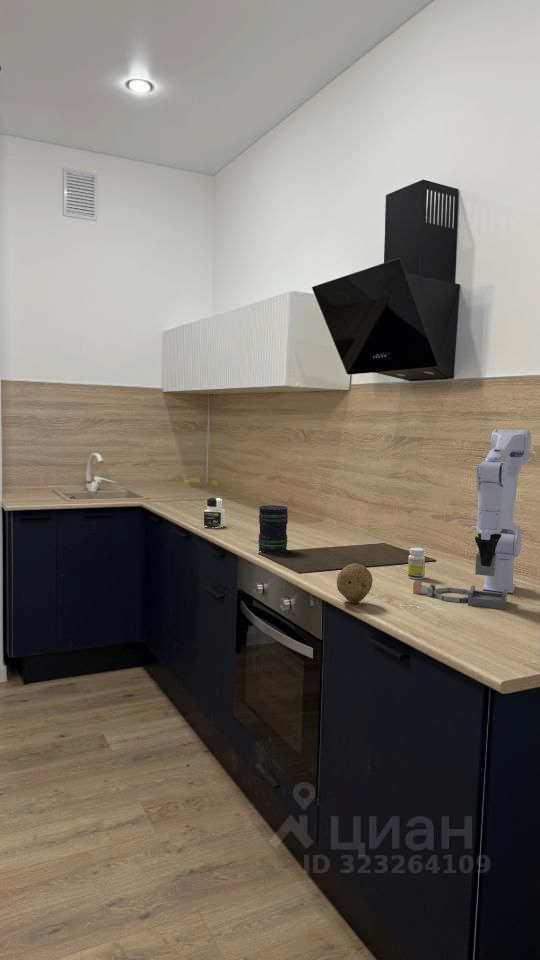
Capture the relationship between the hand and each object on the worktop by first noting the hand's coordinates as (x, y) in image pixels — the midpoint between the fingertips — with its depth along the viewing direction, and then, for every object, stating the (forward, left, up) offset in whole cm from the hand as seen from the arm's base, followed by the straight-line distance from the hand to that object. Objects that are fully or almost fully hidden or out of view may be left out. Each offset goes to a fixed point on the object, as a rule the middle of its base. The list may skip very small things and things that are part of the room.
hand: (486, 564), depth 172 cm
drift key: (-3, -16, -10) cm, 19 cm away
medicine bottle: (-73, -113, -10) cm, 135 cm away
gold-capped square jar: (0, 0, -2) cm, 3 cm away
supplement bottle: (-20, -21, -10) cm, 30 cm away
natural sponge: (+15, -30, -10) cm, 35 cm away
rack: (0, +1, -10) cm, 10 cm away
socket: (-3, -8, -10) cm, 13 cm away
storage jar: (-38, -73, -10) cm, 83 cm away
